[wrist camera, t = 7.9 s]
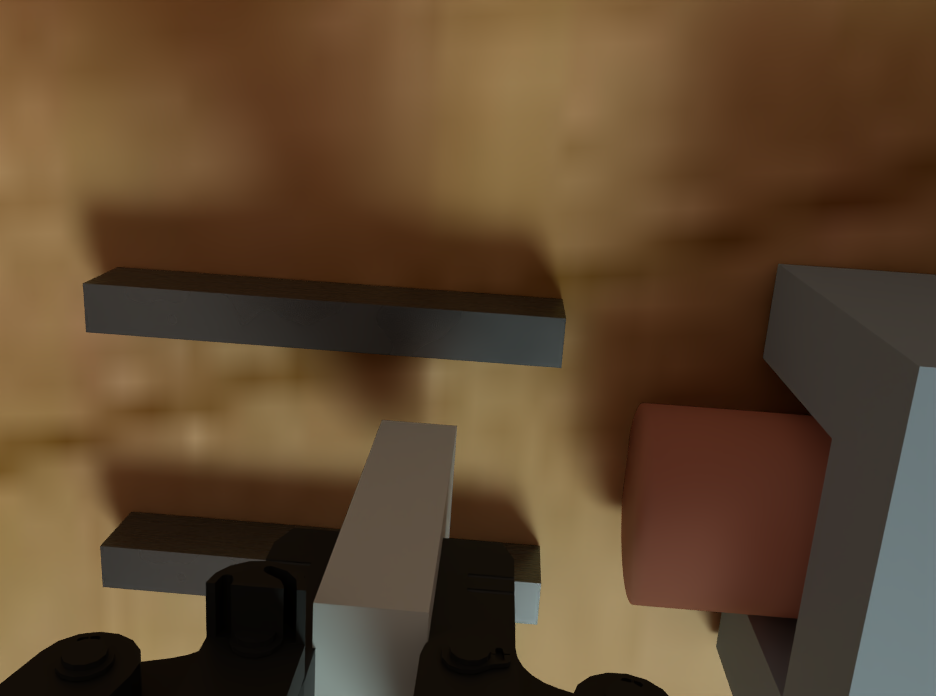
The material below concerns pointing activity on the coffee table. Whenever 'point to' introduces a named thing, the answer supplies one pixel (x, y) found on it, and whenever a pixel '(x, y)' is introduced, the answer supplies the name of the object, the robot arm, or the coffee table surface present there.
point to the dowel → (721, 508)
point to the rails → (310, 327)
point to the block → (855, 491)
